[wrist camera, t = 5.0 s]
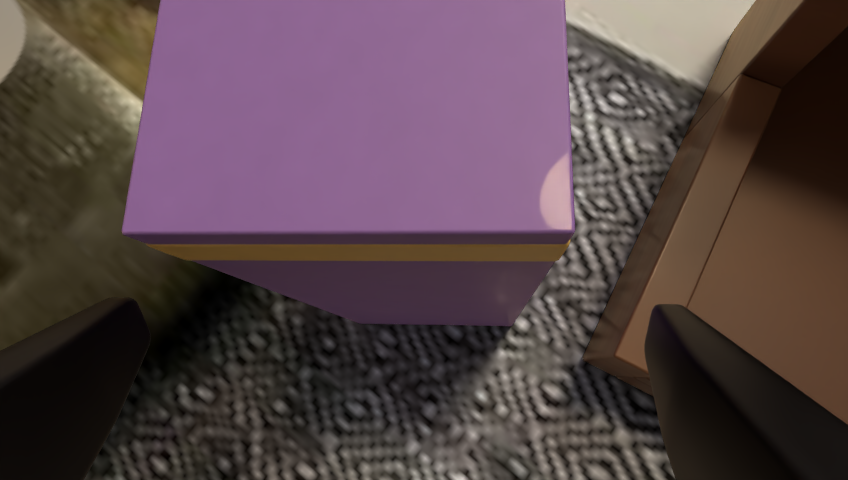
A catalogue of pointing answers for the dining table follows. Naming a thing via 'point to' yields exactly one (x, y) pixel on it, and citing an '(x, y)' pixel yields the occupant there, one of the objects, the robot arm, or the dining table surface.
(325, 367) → the dining table surface
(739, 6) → the dining table surface
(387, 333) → the dining table surface
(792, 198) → the walnut shelf
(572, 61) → the dining table surface
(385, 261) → the chocolate box
